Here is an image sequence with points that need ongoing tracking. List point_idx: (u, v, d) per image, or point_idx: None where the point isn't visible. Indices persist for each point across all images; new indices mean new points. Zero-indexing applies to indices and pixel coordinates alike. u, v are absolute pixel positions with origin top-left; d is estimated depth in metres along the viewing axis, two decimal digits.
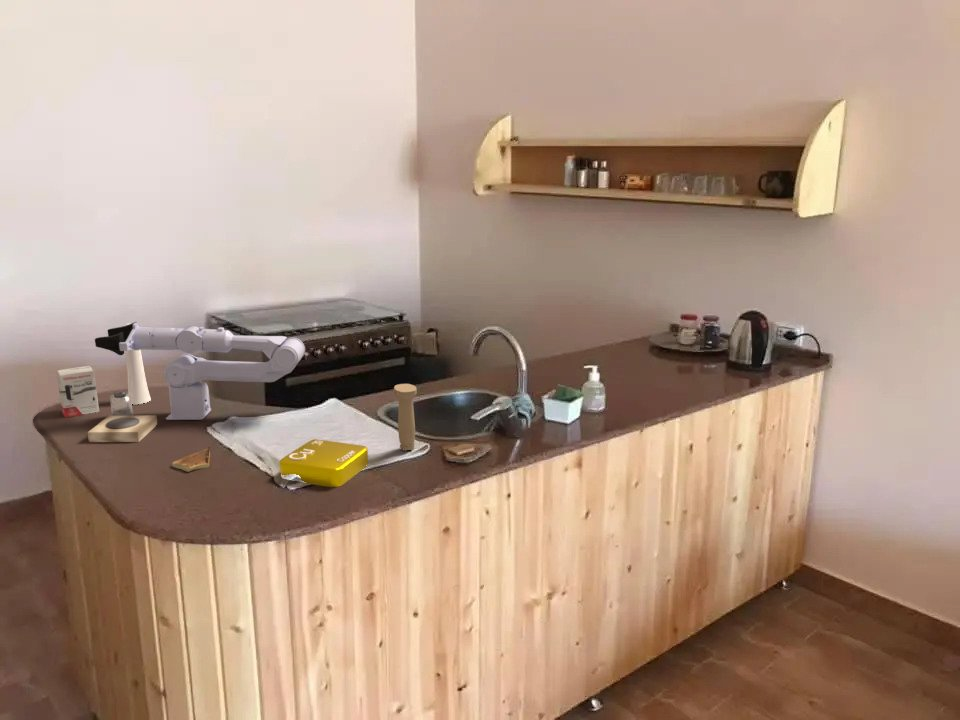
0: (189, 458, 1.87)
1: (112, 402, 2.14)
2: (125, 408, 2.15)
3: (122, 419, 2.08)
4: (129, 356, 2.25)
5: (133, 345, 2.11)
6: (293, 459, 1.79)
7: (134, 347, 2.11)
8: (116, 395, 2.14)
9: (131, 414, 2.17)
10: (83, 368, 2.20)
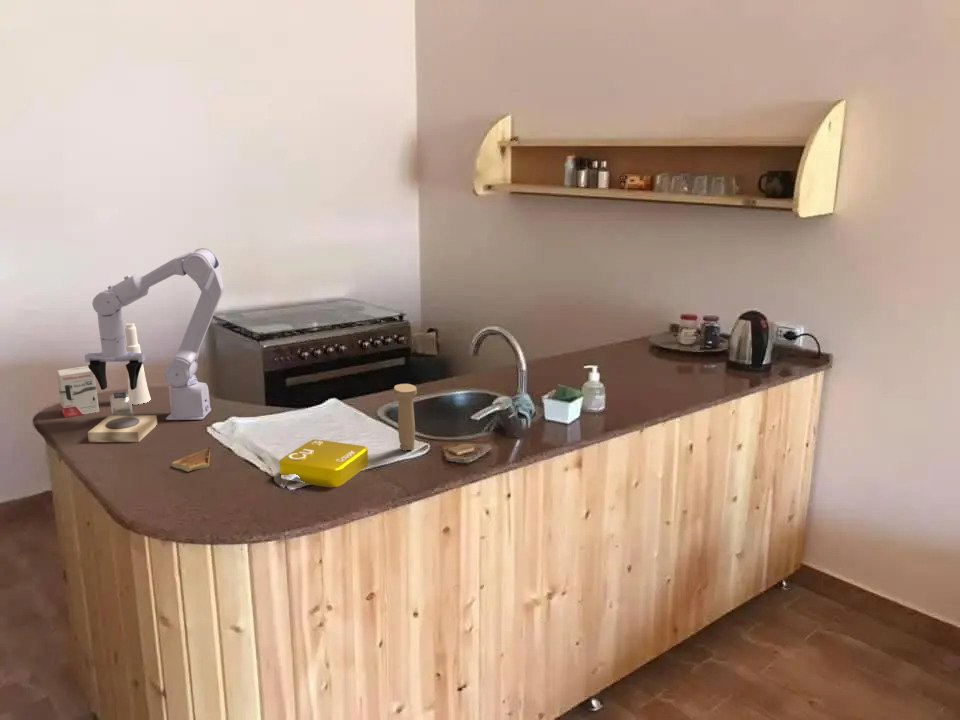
0: (189, 458, 1.87)
1: (112, 402, 2.14)
2: (125, 408, 2.15)
3: (122, 419, 2.08)
4: None
5: (127, 354, 2.14)
6: (292, 459, 1.79)
7: (127, 353, 2.15)
8: (116, 395, 2.14)
9: (131, 414, 2.17)
10: (83, 368, 2.20)
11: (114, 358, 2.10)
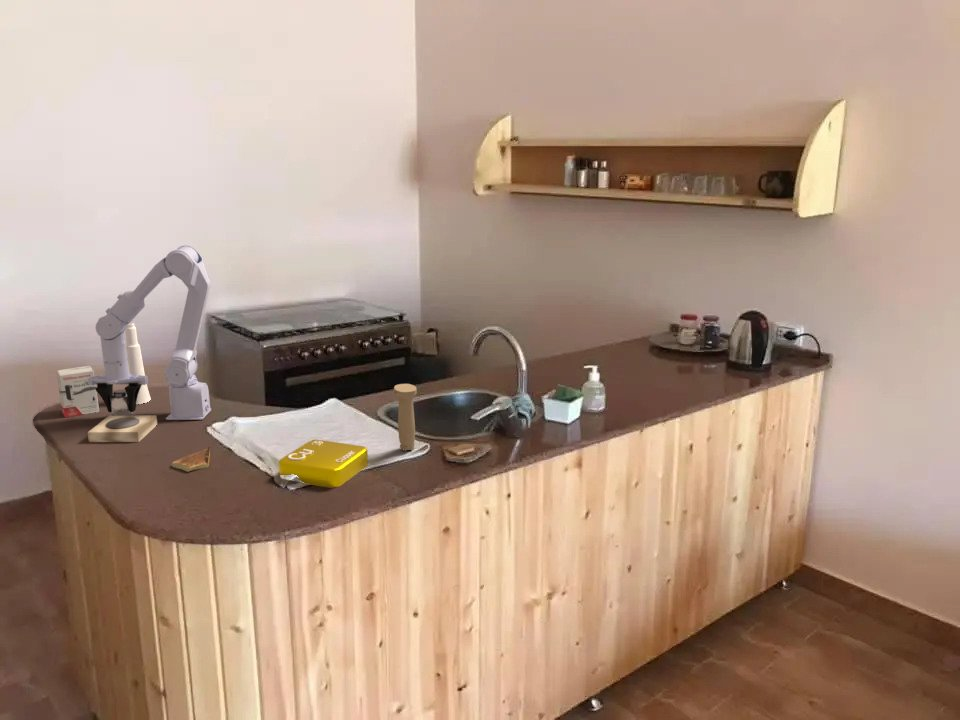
0: (189, 458, 1.87)
1: (112, 402, 2.14)
2: (125, 408, 2.15)
3: (122, 419, 2.08)
4: (129, 356, 2.25)
5: (130, 376, 2.16)
6: (292, 459, 1.79)
7: (130, 375, 2.16)
8: (116, 395, 2.14)
9: (131, 414, 2.17)
10: (83, 368, 2.20)
11: (117, 381, 2.12)
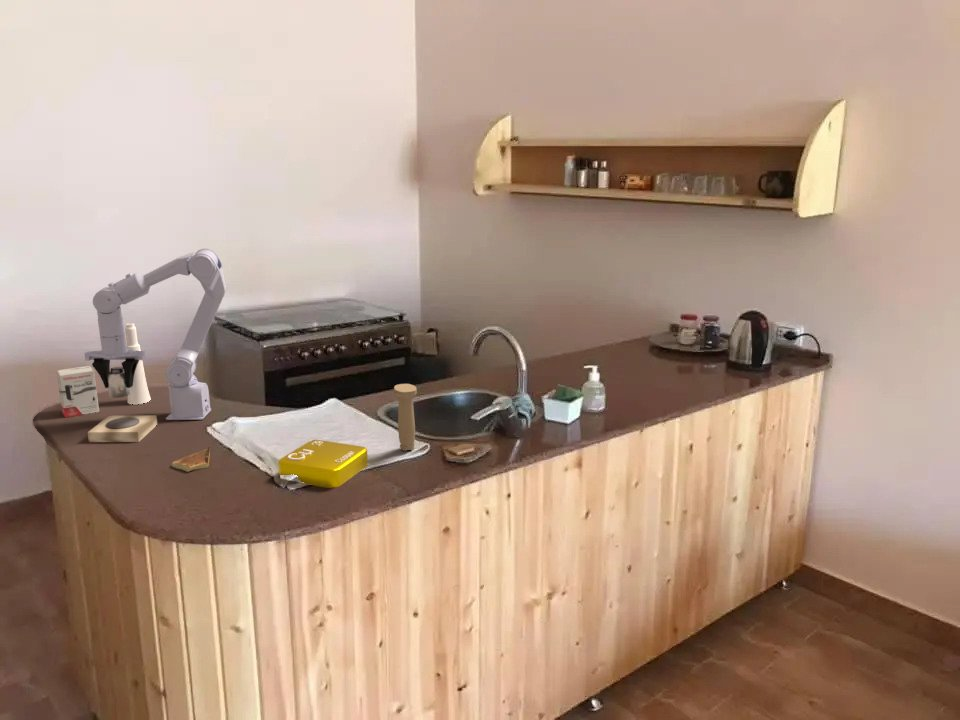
0: (189, 458, 1.87)
1: (109, 378, 2.11)
2: (122, 384, 2.12)
3: (122, 419, 2.08)
4: None
5: (127, 351, 2.12)
6: (292, 459, 1.79)
7: (127, 351, 2.13)
8: (113, 371, 2.11)
9: (128, 391, 2.14)
10: (83, 368, 2.20)
11: (114, 356, 2.09)
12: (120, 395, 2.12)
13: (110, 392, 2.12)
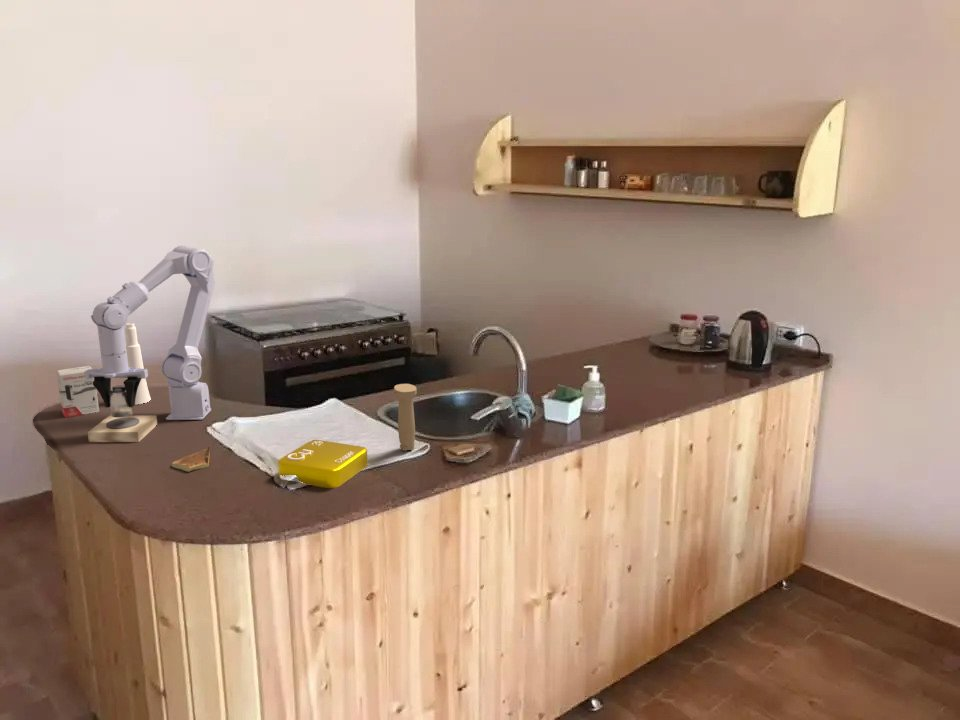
0: (189, 458, 1.87)
1: (111, 397, 2.02)
2: (125, 403, 2.03)
3: (122, 419, 2.08)
4: (129, 356, 2.25)
5: (129, 369, 2.03)
6: (291, 459, 1.78)
7: (129, 368, 2.04)
8: (116, 390, 2.02)
9: (131, 410, 2.05)
10: (83, 368, 2.20)
11: (115, 374, 1.99)
12: (123, 415, 2.03)
13: (112, 412, 2.03)
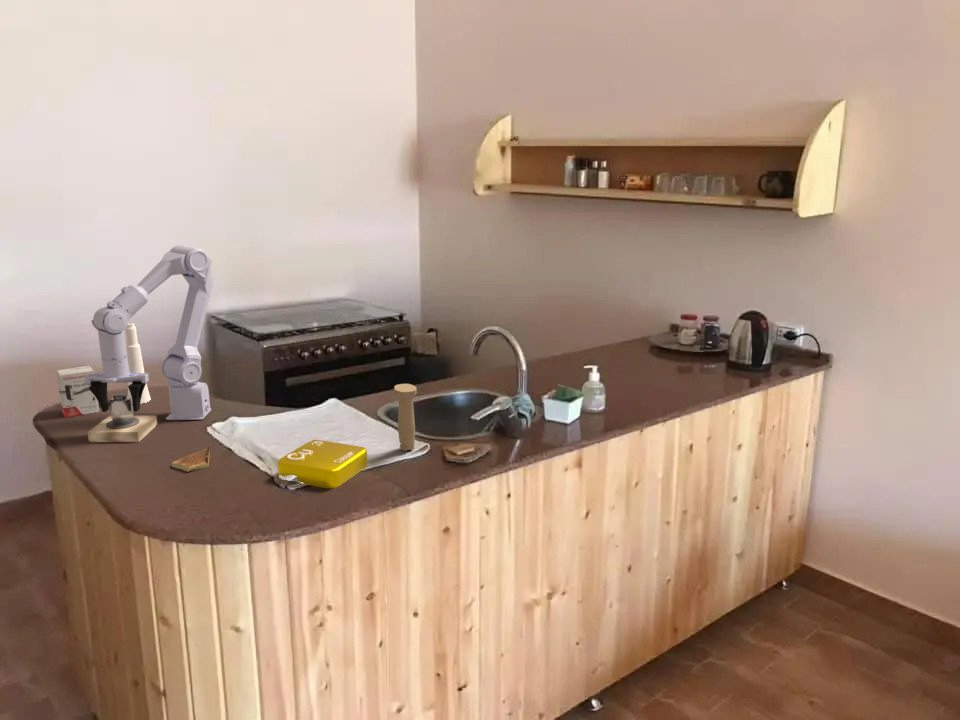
0: (189, 458, 1.87)
1: (112, 405, 2.03)
2: (126, 412, 2.04)
3: None
4: (129, 356, 2.25)
5: (130, 374, 2.03)
6: (291, 459, 1.78)
7: (130, 373, 2.04)
8: (117, 398, 2.03)
9: (132, 418, 2.06)
10: (83, 368, 2.20)
11: (116, 379, 2.00)
12: (124, 423, 2.04)
13: (113, 420, 2.04)
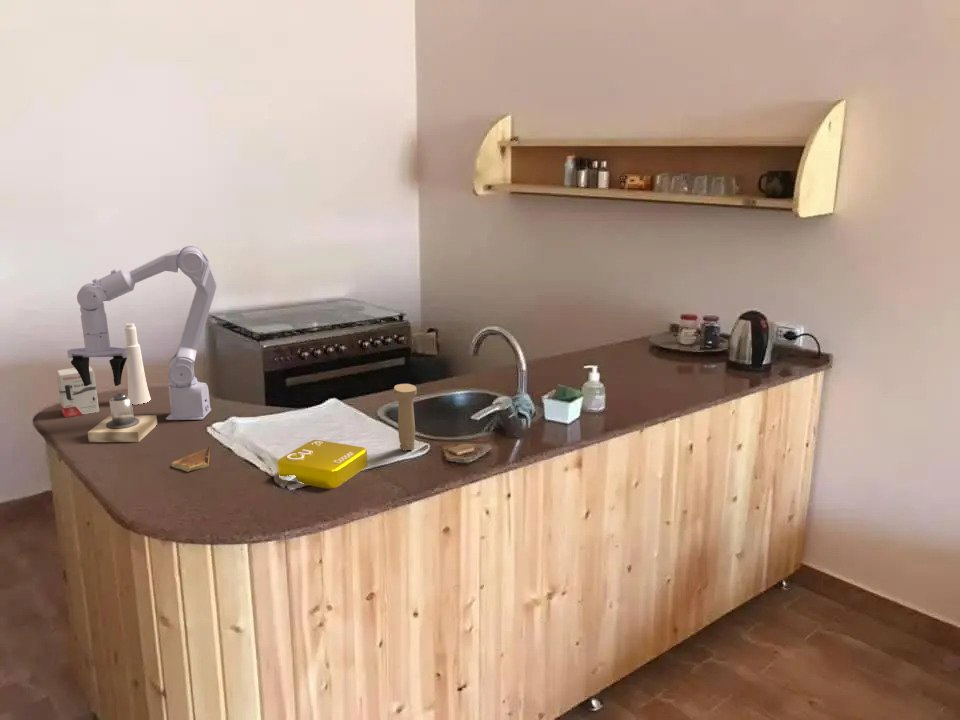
0: (189, 458, 1.87)
1: (112, 405, 2.02)
2: (126, 412, 2.04)
3: None
4: (129, 356, 2.25)
5: (111, 349, 2.09)
6: (290, 459, 1.78)
7: (111, 348, 2.09)
8: (117, 398, 2.03)
9: (132, 418, 2.06)
10: None
11: (97, 353, 2.05)
12: (124, 423, 2.04)
13: (113, 420, 2.04)
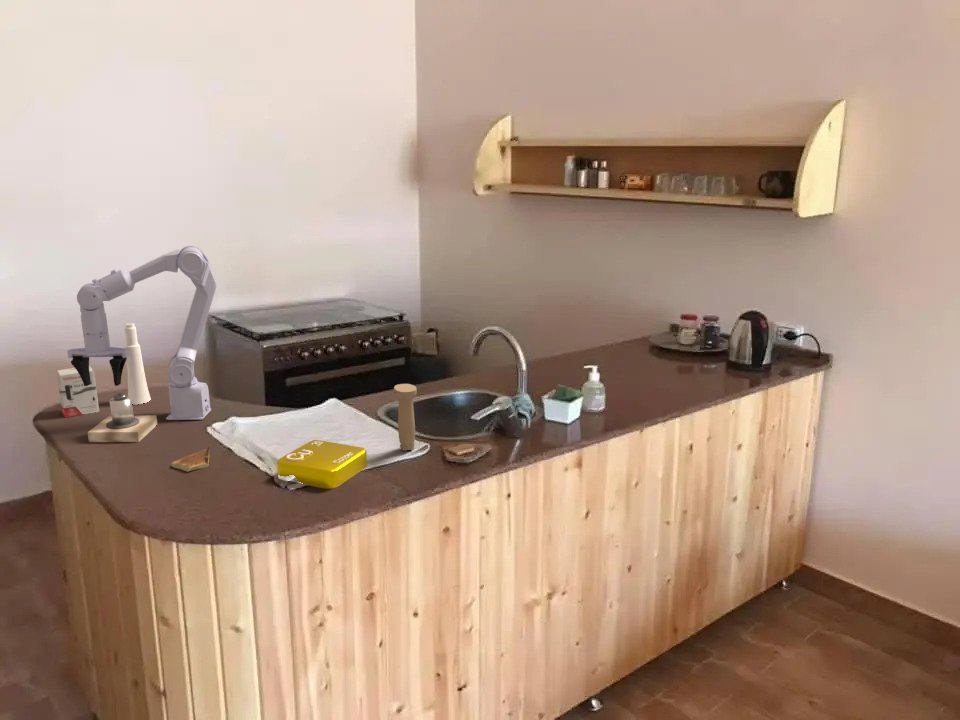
0: (189, 458, 1.87)
1: (112, 405, 2.03)
2: (126, 412, 2.04)
3: None
4: (129, 356, 2.25)
5: (111, 349, 2.09)
6: (290, 459, 1.78)
7: (111, 348, 2.10)
8: (117, 398, 2.03)
9: (132, 418, 2.06)
10: None
11: (97, 353, 2.05)
12: (124, 423, 2.04)
13: (113, 420, 2.04)
